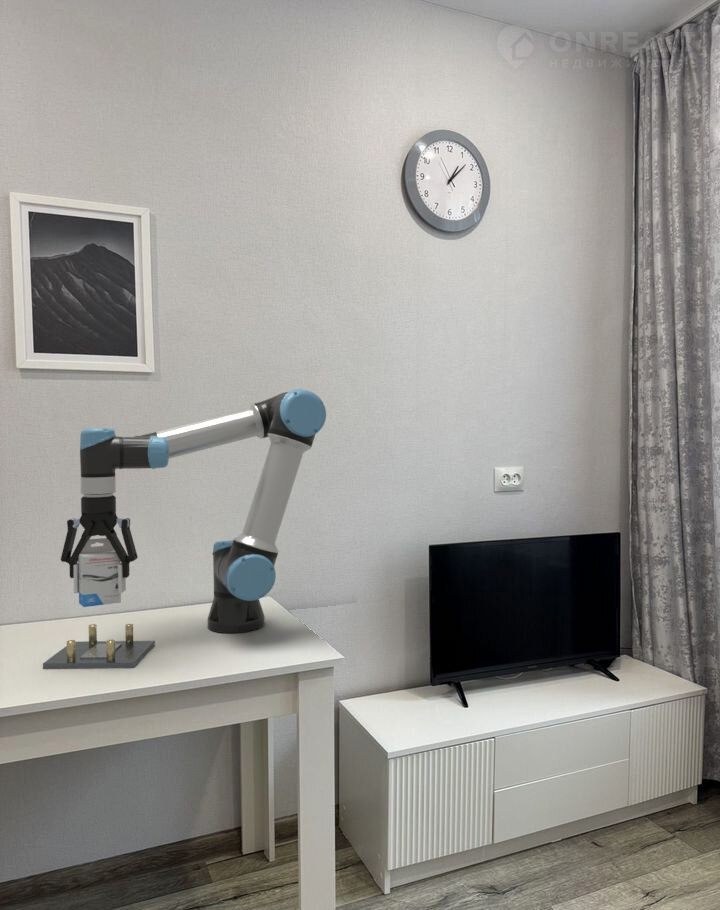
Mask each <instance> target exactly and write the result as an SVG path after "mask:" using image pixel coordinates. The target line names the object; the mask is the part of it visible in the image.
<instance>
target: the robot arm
mask: <svg viewBox="0 0 720 910" xmlns="http://www.w3.org/2000/svg"><path fill="white" fill-rule="evenodd" d="M326 419H327V410H326V406H325V404H324V402H323V400H322V399H321V397H320V396H319V395H317V394H316V393H315V392H313V391H310V390H307V389H303V388H302V389H300V388H299V389H292V390H291V391H286V392H281V393H279V394H277V395H274V396H272V397H270V398H268V399H265V400H263V401H259V402H255V403H252V404H250V406H249V407H248V408H247V409H243V410H238V411H235V412H231V413H227V414H223V415H217V416H213V417H210V418H206V419H202V420H198V421H193V422H190V423H187V424H186V423H185V424H182V425H177V426H174V427H169V428H165V429H162V430H158V431H154V432H149V433H146V434H142V435H134V436H117V435H116V432H115V429H114V428H98V427H97V428H92V427H91V428H84V429H82V431H81V432H80V439H79V440H80V441H79V444H80V445H79V456H80V457H79V458H80V459H79V460H80V461H79V462H80V463H79V464H80V494H81V495H83V496H82V497H81V498H80V515H81V516H80V517H79V518H75V517H74V518H70V519H67V521H66V526H67V531H66V536H65V540H64V544H63V548H62V552H61V556H60V561H61V562H62V563H67V564H68V565H69V577H70V579H73V594H79V561H78V556H79V554H80V553H81V551H82V550H83V548H84V546H85V545H86V543H87V541H88V540H89V539H92V537H96V536H100V537H105V538H107V539H108V540H109V541H110V543H111V545H112V547H113V548H114V550H115V552H116V554H117V556H118V557H119V559H120V561H121V563H120V564H119V565H118V592H119V593H121V594H122V593H124V592H125V591H126V578H129V576H130V563H131V562H134V561H136V560H137V559H138V553H137V548H136V546H135V542H134V539H133V535H132V531H131V519H130V518H129V517H126V518H120V517H118V516H117V500H116V498H117V497H116V496H115V495H113V494H115V493H116V492H117V491H116V488H117V487H116V470H117V469H118V470H122V469H123V470H124V469H127V470H128V469H129V470H130V469H137V470H138V469H152V470H155V469H162V468H163V469H164V468H166V467H168V465H169V461H170V459H172V458H177V457H180V456H185V455H188V454H192V453H196V452H201V451H204V450H208V449H211V448H216V447H220V446H223V445H227V444H231V443H235V442H238V441H242V440H247V439H251V438H254V437H257V438H259V439H265V438H268V439H269V441H270V445H269V448H268V450H267V451H268V452H267V455H266V457H265V460H264V463H263V467H262V470H261V474H260V477H259V479H258V482H257V485H256V489H255V491H254V495H253V499H252V501H251V505H250V506H249V507H250V508H249V510H248V513H247V517H246V520H245V523H244V526H243V529H242V533H240V534H239V535H237V536H235V537H234V538H233V540H231V539H230V540H220V541H216V542H214V543H213V548H212V549H213V550H212V553H211V554H212V556H213V557H212V558H213V559H212V562H213V563H212V565H213V566H212V567H213V572H212V573H213V600H212V603H211V606H210V610H209V612H208V615H207V621H206V622H207V629H209V630H210V631H212V632H217V633H221V634H222V633H225V634H226V633H227V634H234V633H235V634H236V633H238V634H239V633H246V632H247V633H248V632H251V631H255V630H258V629H261V628H262V627H263V626H265V624H266V623H265V621H266V620H265V619H266V618H265V612H264V610H263V608H262V604H261V602H260V599H262V598H263V597H264V598H265V596H266V595H267V594H269V593H270V592H271V590H272V589H273V587H274V585H275V583H276V579H277V578H276V577H277V576H276V569H275V564H276V562H277V557H278V555H279V549H278V548H277V545H276V542H277V541H276V540H277V538H278V534H279V531H280V528H281V525H282V522H283V519H284V516H285V512H286V509H287V507H288V503H289V499H290V496H291V493H292V490H293V487H294V484H295V482H296V478H297V475H298V471H299V469H300V465H301V462H302V458H303V455H304V454H305V452H307V451H309V450H311V449H312V446H313V444H314V440H315V437H316V435H317V434H319V432H320V431H321V430H322V429H323V427H324V425H325V423H326ZM80 525H81V526H82V528H83V529H84V530H83V531H82V534H81V537H80V539H79V540H78V543H77V544H76V547H75V549H74V550H73V548H74V544H75V540H76V536H77V531H78V528H79V526H80ZM116 525H118V527H119V528H120V531H121V534H122V538H123V539H122V540H123V541H124V542H123V543H124V546H125V548H124V546H123V544H122V543H121V541H120V539H119V537H118V534H117V532H116V530H115V527H116Z"/></svg>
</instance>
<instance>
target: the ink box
mask: <svg viewBox="0 0 720 910" xmlns="http://www.w3.org/2000/svg"><path fill="white" fill-rule="evenodd" d="M97 543H98V544H103V545H100V546H97V545H95V544H97ZM92 545H95V546H92ZM78 563H79V593H78V603H79V605H80V606H82V607H83V608H87V607H96V606H97V607H98V606H105V605H111V604H113V605H114V604H120V603H121V601H122V599H121V598H122V595H121V594H122V593H119V592H118V565H119V564H120V563H121V561H120V559H119V557H118V556H117V554H116V552H115V550H114V548H113V547H112V545H111V543H110V541H109V540H108V539H107V538H106V537H104V538H90V539H89V540H88V541H87V543H86V545H85V546H84V548H83V550H82V551H81V553H80V554H79V556H78Z"/></svg>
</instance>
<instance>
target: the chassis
mask: <svg viewBox="0 0 720 910" xmlns="http://www.w3.org/2000/svg"><path fill="white" fill-rule="evenodd" d="M124 626H125V627H124V633H125V636H124V637H125V640H115V639H107V640H103V641H101V640H100V641H98V636H97V633H98V629H97V624H96V623H94V624H93V623H92V624H88V640H87V641H76V640H75V639H71V640H67V641H66V646H64V647H63V648H61V649H60V650H59V651H58V652H56V653H55V654H53V655H52V656H51V657H50V658H48V659H47V660H45V661H44V662H43V663H42V669H43V670H49V669H50V670H52V669H53V670H55V669H58V670H61V669H65V670H67V669H135V668H136V666H137V665H138V664H139V663H140V662H141V661H142V660H143V659H144V658H145V657H146V656H147V654H149V652H150V651H151V650H152V649H153V648H154V647H155V645H156V644H155V643H156V642H155V640H134V624H133V623H127V624H125V625H124Z"/></svg>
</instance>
